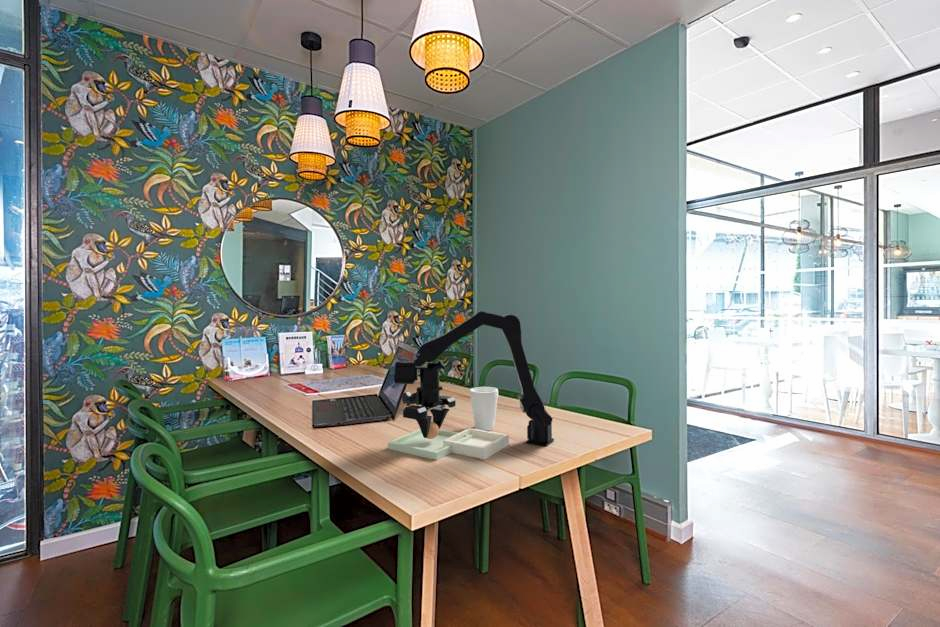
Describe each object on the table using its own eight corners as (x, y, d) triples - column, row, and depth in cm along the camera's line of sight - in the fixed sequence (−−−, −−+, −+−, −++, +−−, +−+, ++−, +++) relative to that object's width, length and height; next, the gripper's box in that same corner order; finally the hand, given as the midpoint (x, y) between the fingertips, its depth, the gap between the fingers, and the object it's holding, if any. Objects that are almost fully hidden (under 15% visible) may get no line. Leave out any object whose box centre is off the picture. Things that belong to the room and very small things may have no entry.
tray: (472, 441, 138) (472, 435, 137) (436, 460, 122) (436, 452, 122) (425, 432, 147) (425, 426, 147) (387, 448, 132) (387, 442, 132)
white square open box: (508, 444, 134) (508, 434, 134) (484, 459, 122) (484, 448, 122) (469, 437, 142) (469, 427, 142) (443, 450, 130) (443, 440, 130)
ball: (442, 437, 135) (442, 421, 135) (432, 442, 131) (432, 425, 131) (429, 435, 138) (429, 418, 138) (419, 439, 134) (418, 422, 134)
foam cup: (465, 430, 150) (465, 391, 149) (478, 422, 158) (477, 386, 157) (491, 433, 145) (491, 393, 145) (503, 426, 153) (502, 388, 153)
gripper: (427, 376, 146) (428, 423, 147) (387, 386, 131) (389, 439, 131) (456, 379, 140) (456, 428, 141) (417, 390, 125) (419, 446, 125)
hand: (430, 435), depth 135 cm, fingers closed on ball, 5 cm apart
